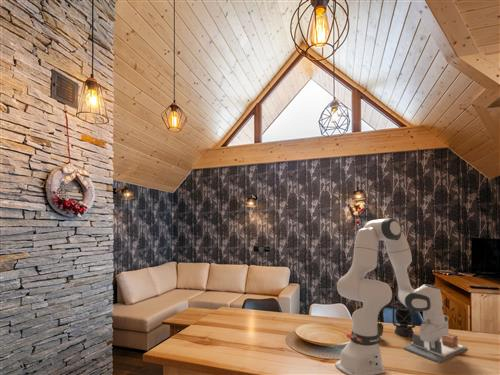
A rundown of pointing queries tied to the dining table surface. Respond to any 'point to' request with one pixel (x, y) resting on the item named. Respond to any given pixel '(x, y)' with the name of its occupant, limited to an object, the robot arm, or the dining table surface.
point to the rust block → (450, 340)
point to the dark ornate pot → (380, 329)
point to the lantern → (403, 320)
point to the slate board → (431, 355)
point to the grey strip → (420, 342)
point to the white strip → (443, 349)
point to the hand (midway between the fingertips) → (435, 347)
